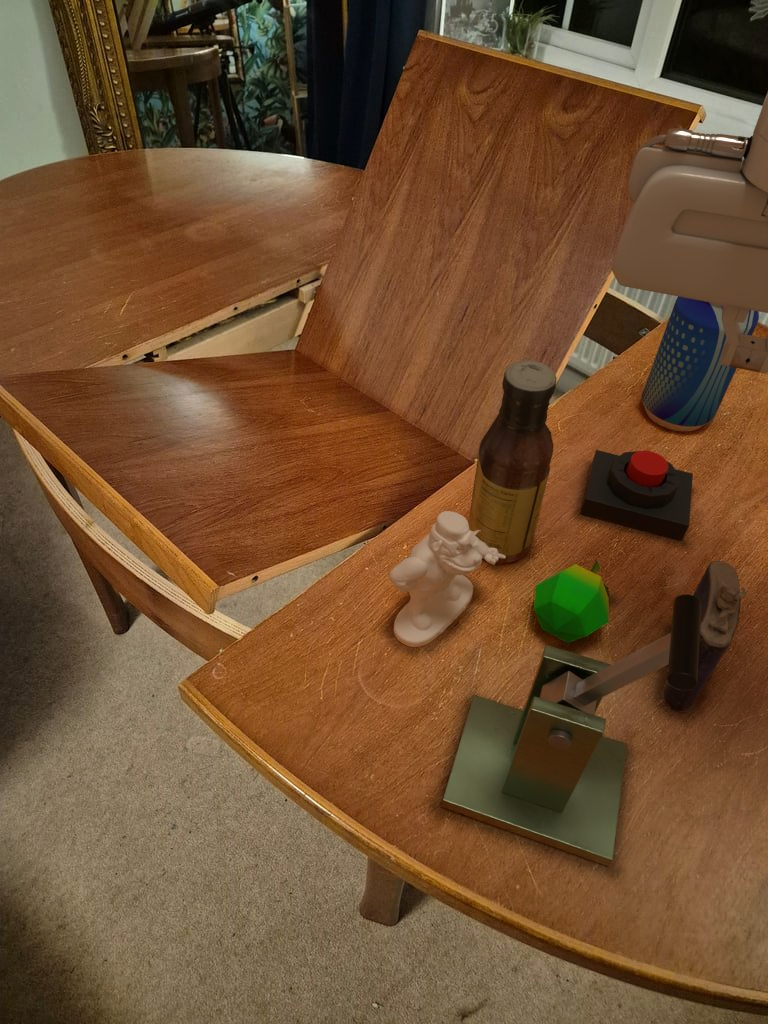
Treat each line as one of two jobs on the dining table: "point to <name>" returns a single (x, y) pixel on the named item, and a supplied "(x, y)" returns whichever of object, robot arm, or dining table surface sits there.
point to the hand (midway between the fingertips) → (743, 365)
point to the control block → (637, 497)
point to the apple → (572, 603)
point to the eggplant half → (711, 627)
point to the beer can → (691, 366)
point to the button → (647, 468)
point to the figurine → (438, 578)
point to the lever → (639, 663)
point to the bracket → (542, 767)
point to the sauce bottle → (514, 462)
